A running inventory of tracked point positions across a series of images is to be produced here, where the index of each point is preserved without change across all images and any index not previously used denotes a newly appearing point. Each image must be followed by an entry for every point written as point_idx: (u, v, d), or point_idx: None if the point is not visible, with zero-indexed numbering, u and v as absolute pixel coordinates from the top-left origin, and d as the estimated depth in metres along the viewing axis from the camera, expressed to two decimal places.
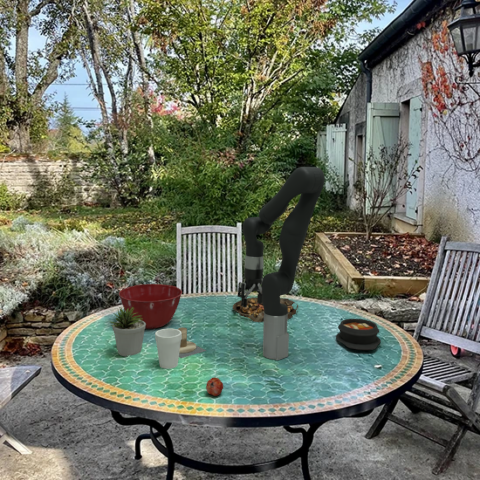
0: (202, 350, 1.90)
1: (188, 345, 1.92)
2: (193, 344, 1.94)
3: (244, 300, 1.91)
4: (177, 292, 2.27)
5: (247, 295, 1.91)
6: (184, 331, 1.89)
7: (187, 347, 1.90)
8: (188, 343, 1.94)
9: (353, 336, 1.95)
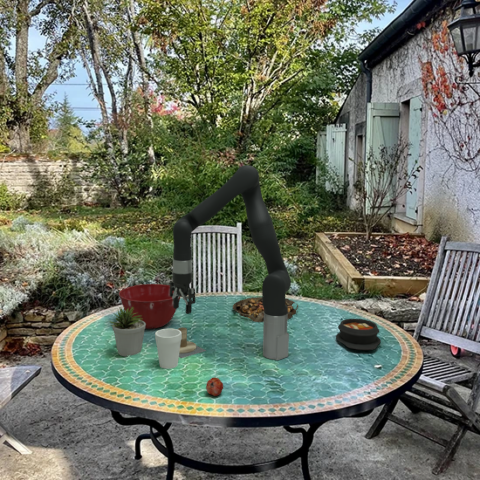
0: (202, 350, 1.90)
1: (188, 345, 1.92)
2: (193, 344, 1.94)
3: None
4: None
5: (190, 300, 1.87)
6: (184, 331, 1.89)
7: (187, 347, 1.90)
8: (188, 343, 1.94)
9: (353, 336, 1.95)
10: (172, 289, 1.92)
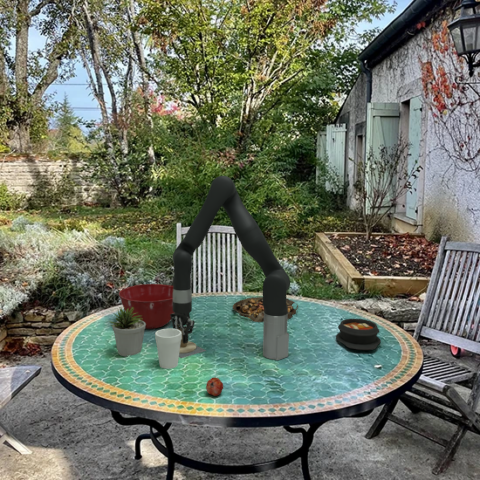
0: (202, 350, 1.90)
1: (188, 345, 1.92)
2: (193, 344, 1.94)
3: (187, 335, 1.89)
4: None
5: None
6: None
7: (187, 347, 1.90)
8: (188, 343, 1.94)
9: (353, 336, 1.95)
10: (173, 320, 1.93)
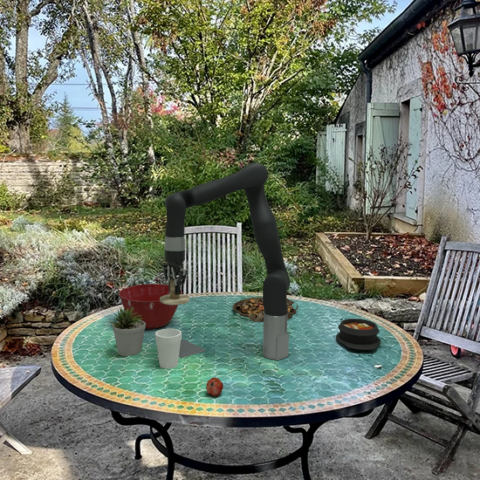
0: (202, 350, 1.90)
1: (181, 297, 1.81)
2: (187, 296, 1.83)
3: None
4: None
5: None
6: None
7: (180, 299, 1.79)
8: (181, 296, 1.83)
9: (353, 336, 1.95)
10: (166, 271, 1.82)
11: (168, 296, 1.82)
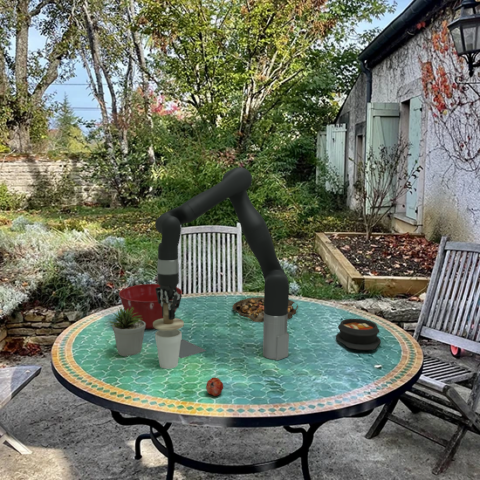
0: (202, 350, 1.90)
1: (175, 322, 1.74)
2: (181, 321, 1.75)
3: None
4: (177, 292, 2.27)
5: None
6: None
7: (174, 324, 1.72)
8: (175, 320, 1.76)
9: (353, 336, 1.95)
10: (159, 294, 1.75)
11: (161, 320, 1.75)
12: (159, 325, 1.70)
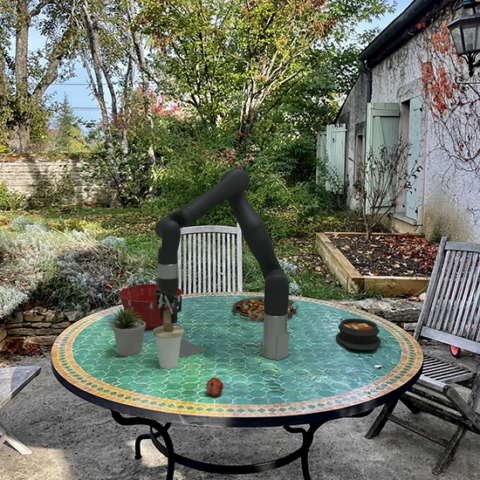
0: (202, 350, 1.90)
1: (175, 329, 1.74)
2: (181, 328, 1.76)
3: (176, 314, 1.70)
4: (177, 292, 2.27)
5: None
6: (170, 314, 1.71)
7: (174, 332, 1.72)
8: (175, 328, 1.76)
9: (353, 336, 1.95)
10: (158, 297, 1.75)
11: (161, 328, 1.76)
12: (159, 333, 1.71)
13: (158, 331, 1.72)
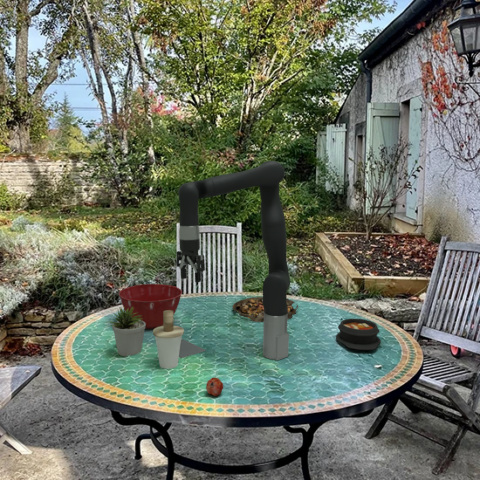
0: (202, 350, 1.90)
1: (175, 329, 1.74)
2: (181, 328, 1.76)
3: None
4: (177, 292, 2.27)
5: None
6: (170, 314, 1.71)
7: (174, 332, 1.72)
8: (175, 328, 1.76)
9: (353, 336, 1.95)
10: (179, 258, 1.82)
11: (161, 328, 1.76)
12: (159, 333, 1.71)
13: (158, 331, 1.72)
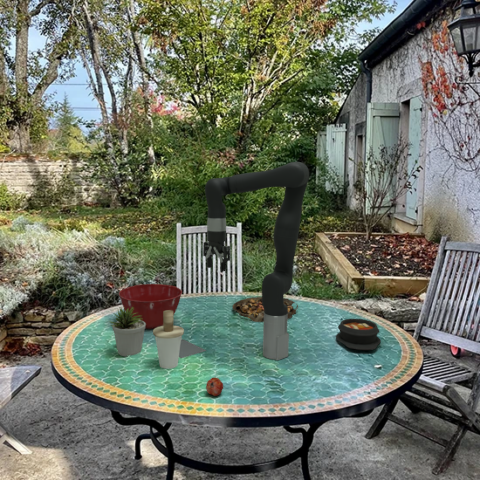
0: (202, 350, 1.90)
1: (175, 329, 1.74)
2: (181, 328, 1.76)
3: None
4: (177, 292, 2.27)
5: None
6: (170, 314, 1.71)
7: (174, 332, 1.72)
8: (175, 328, 1.76)
9: (353, 336, 1.95)
10: (206, 249, 1.94)
11: (161, 328, 1.76)
12: (159, 333, 1.71)
13: (158, 331, 1.72)
